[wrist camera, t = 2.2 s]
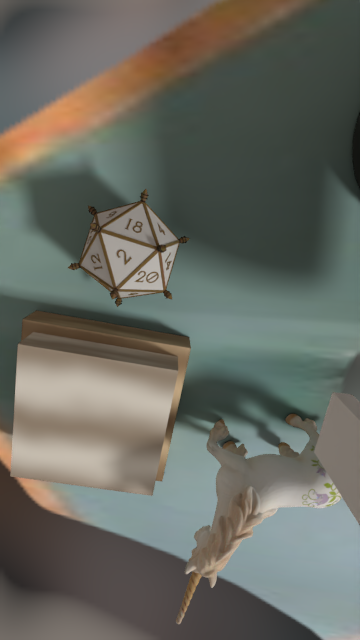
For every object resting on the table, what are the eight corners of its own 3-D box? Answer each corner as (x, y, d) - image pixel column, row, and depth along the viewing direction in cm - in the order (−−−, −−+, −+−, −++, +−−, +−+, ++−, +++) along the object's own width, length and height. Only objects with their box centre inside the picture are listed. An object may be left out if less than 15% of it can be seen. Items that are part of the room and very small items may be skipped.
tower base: (36, 310, 31) (5, 330, 25) (189, 337, 32) (192, 361, 26) (27, 441, 35) (-2, 483, 29) (162, 460, 36) (160, 505, 31)
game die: (155, 234, 33) (226, 219, 25) (131, 314, 32) (196, 325, 24) (71, 188, 27) (128, 151, 20) (40, 283, 27) (86, 285, 19)
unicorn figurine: (150, 440, 36) (138, 561, 23) (321, 377, 34) (411, 472, 21) (175, 488, 38) (177, 625, 25) (338, 432, 36) (430, 548, 23)
